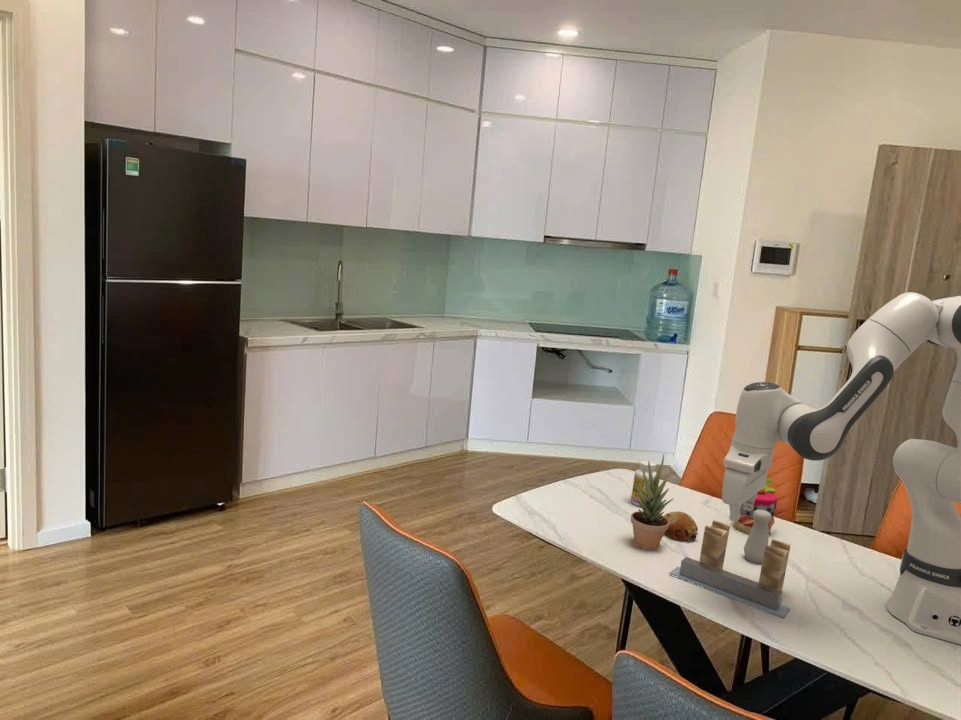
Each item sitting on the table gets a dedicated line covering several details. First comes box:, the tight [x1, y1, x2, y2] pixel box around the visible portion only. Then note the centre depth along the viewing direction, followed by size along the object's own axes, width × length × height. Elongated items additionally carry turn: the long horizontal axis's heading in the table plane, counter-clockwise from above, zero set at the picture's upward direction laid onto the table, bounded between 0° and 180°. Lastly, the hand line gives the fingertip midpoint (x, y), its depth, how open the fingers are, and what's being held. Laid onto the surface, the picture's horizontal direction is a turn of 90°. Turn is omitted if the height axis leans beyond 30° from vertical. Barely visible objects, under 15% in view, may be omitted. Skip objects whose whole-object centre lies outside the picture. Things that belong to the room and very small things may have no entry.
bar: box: [679, 556, 783, 611], centre depth 163 cm, size 22×3×4 cm, turn 53°
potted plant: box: [630, 453, 674, 550], centre depth 183 cm, size 10×10×25 cm
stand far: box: [698, 520, 731, 570], centre depth 174 cm, size 4×6×11 cm, turn 143°
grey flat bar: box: [668, 566, 791, 619], centre depth 164 cm, size 26×5×1 cm, turn 53°
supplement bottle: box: [630, 460, 657, 508], centre depth 214 cm, size 7×7×13 cm
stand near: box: [758, 539, 791, 591], centre depth 166 cm, size 4×6×11 cm, turn 143°
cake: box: [733, 477, 778, 536], centre depth 203 cm, size 10×11×15 cm
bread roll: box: [663, 510, 699, 543], centre depth 195 cm, size 10×10×8 cm
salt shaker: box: [743, 510, 771, 565], centre depth 182 cm, size 6×6×13 cm
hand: (741, 514), depth 161 cm, fingers open, 8 cm apart
